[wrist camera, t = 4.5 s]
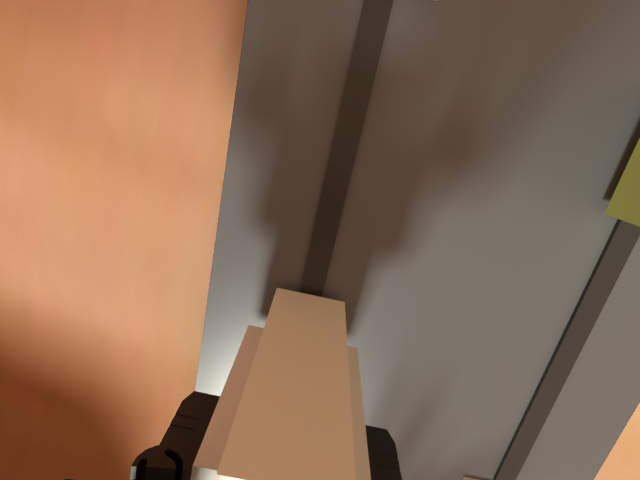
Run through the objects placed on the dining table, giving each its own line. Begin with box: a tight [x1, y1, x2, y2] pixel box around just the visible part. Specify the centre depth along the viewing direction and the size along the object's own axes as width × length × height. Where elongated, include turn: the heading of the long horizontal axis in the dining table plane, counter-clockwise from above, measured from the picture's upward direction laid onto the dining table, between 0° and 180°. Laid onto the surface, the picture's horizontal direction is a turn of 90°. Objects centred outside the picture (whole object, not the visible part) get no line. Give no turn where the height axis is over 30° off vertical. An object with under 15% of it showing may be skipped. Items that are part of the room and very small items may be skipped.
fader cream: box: [215, 288, 356, 480], centre depth 13 cm, size 3×5×9 cm, turn 168°
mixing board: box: [195, 0, 640, 480], centre depth 18 cm, size 21×24×2 cm
